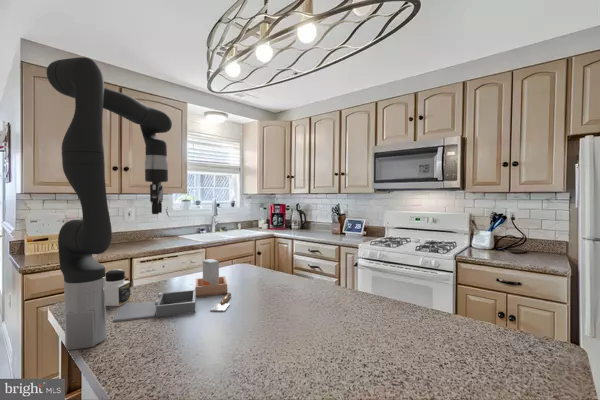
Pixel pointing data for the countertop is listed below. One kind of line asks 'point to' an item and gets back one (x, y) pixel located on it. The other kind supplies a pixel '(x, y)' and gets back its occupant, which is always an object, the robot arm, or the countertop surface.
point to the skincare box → (210, 272)
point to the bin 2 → (211, 288)
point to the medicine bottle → (117, 288)
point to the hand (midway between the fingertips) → (157, 213)
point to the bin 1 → (159, 306)
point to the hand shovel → (221, 305)
